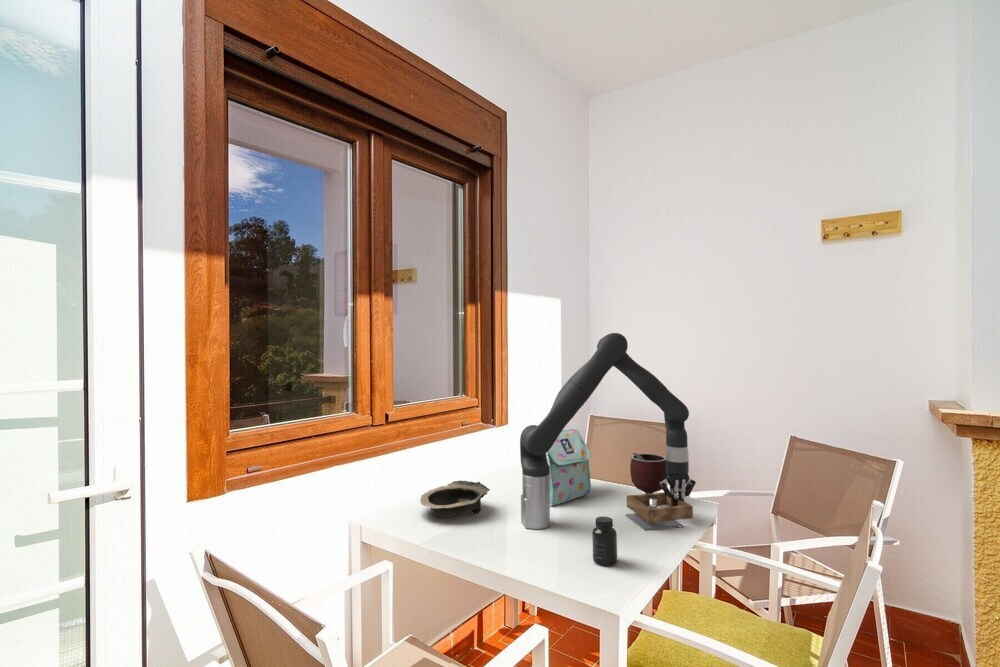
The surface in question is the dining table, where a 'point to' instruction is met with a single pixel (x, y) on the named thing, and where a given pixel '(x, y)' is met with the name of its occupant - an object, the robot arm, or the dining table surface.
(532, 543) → the dining table surface
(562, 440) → the lunch bag
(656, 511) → the walnut collar
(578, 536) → the dining table surface
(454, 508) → the stone bowl
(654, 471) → the mate gourd
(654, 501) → the steel post
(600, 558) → the supplement bottle
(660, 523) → the slate plate
